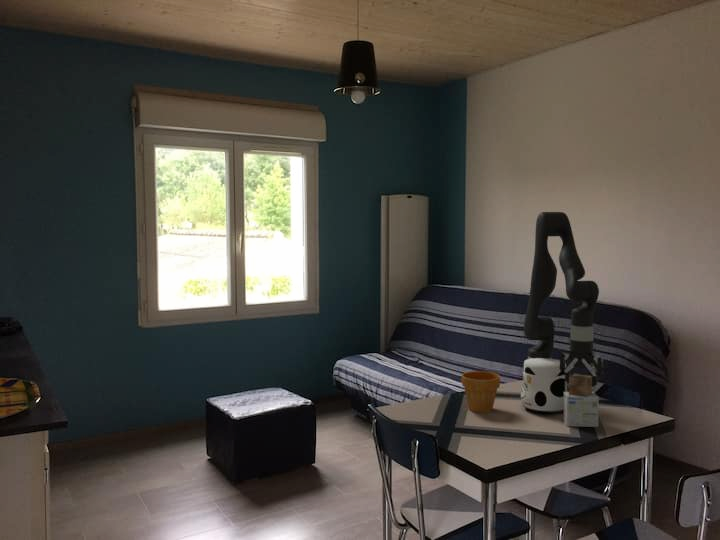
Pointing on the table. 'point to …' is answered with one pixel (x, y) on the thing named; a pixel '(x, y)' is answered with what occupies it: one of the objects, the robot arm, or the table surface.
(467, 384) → the flower pot
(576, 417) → the light bulb box
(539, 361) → the milk container
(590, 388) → the walnut block
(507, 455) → the table surface
